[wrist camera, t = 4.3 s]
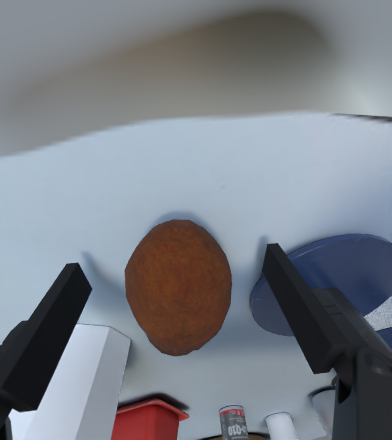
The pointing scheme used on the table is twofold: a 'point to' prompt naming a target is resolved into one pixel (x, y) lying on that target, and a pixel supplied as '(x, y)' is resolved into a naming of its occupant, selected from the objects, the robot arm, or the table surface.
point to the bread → (252, 438)
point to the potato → (178, 286)
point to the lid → (337, 283)
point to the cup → (281, 427)
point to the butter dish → (147, 421)
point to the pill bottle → (233, 423)
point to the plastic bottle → (325, 409)
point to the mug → (79, 389)
